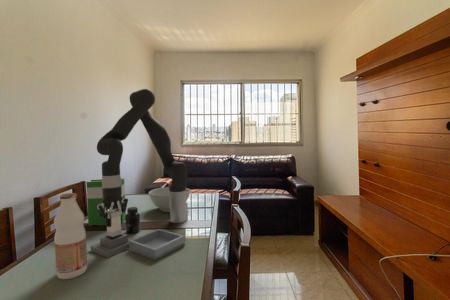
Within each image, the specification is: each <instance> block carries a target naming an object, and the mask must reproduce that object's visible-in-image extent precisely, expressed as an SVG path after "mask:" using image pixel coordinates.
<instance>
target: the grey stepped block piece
mask: <svg viewBox="0 0 450 300" xmlns="http://www.w3.org/2000/svg"><path fill="white" fill-rule="evenodd" d="M132 239H133V238H130V237H129V234H127V233H122V234H120V235H117V236H114V237H111V236H108V235H107V234H106V235H103V236H100V237H99V242H98V243H94V244H92V245H90V251H91V252H93V253H96V254H98V255H100V256H103V257H104V258H110V257H112V256H114V255H117V254H119V253H121V252H123V251H126V250H129V241H130V240H132Z"/></svg>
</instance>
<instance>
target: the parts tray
mask: <svg viewBox="0 0 450 300" xmlns="http://www.w3.org/2000/svg"><path fill="white" fill-rule="evenodd" d="M185 236H186V235H183V234H181V233H176V232H171V231H169V230H165V229H162V228H158V229H155V230H152V231H150V232H148V233H145V234H143V235H139V236H138V237H134V238H131V239H132V240H130V241H129V248H128V250H129V251H131V252H133V253H136V254H138V255H141V256H144V257H147V258H149V259H150V260H151V259H152V260H154V261H157V260H159V259H161V258H163V257H164V256H166V255H168V254H170V253H173V252H174V251H176V250H178V249H179V248H181V247H183V246H185V245H186V237H185Z"/></svg>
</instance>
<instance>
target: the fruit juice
mask: <svg viewBox="0 0 450 300" xmlns="http://www.w3.org/2000/svg"><path fill="white" fill-rule="evenodd" d="M76 199H77V193H76V192H75V193H73V192H69V193H68V192H67V193H62V194H60V195H59V200H60V205H59V208H58V211H57V213H56V215H55V217H54V219H53V225H54V228H55V232H54V240H53V241H54V253H55V254H54V255H55V256H54V257H55V271H56V272H55V273H56V277H57V278H58V279H59V280H70V279H75V278H77V277H79V276H82V275H83V274H84V273H85V272H87V270H88V253H87V235H86V233H87V232H86V228H85V226H84V224H85V223H84V222H85V220H86V219H85V214H84V212H83V211H82V209H81V208H80V206H79V204H78V202H77V200H76Z"/></svg>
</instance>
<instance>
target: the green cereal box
mask: <svg viewBox="0 0 450 300" xmlns="http://www.w3.org/2000/svg"><path fill="white" fill-rule="evenodd" d="M85 183H86V199H87V200H86V203H87V220H88V223H87V224H88V227H93V226H92V225H99V226H106V225H105V218H101V217H100V215H99V213H98V210H97V208H96V205H100V204H101V203H102V202H103V193H102V178H101V179H91V180H90V181H86V182H85ZM125 184H126V183H125V178H121V187H122V195H121V197H122V198H126V190H125V189H126V188H125V186H126V185H125ZM121 204H122V202H121V203H120V206H121ZM103 210H104V212H105V206H104V208H103ZM108 210H109V209H108ZM113 210H115V209H113ZM126 214H127V210H126V211H125V212H123V213H122V222H121V225H123V224H124V223H125V222H126V220H125V216H126ZM124 221H125V222H124Z"/></svg>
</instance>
